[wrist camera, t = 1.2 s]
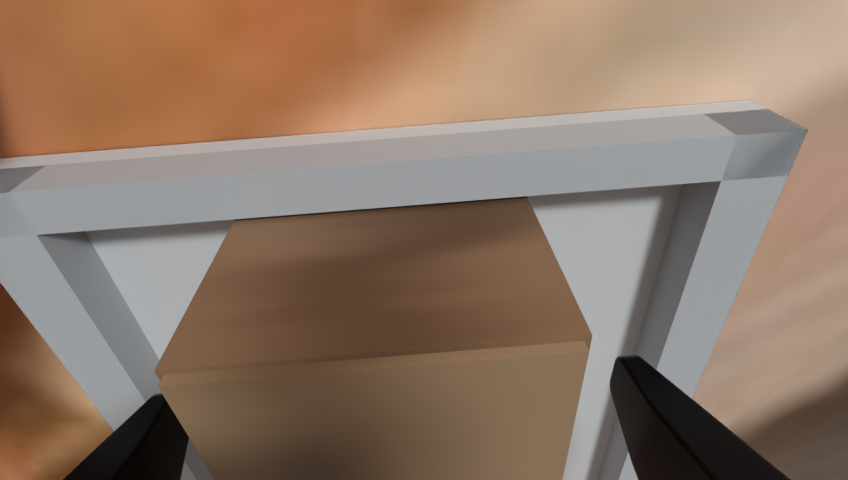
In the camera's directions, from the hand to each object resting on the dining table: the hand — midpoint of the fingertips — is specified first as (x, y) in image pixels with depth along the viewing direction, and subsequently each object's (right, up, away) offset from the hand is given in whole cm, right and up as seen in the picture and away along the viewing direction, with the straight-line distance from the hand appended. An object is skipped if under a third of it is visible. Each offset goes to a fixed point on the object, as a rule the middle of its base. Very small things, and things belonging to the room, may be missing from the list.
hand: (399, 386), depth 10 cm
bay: (0, -2, +6) cm, 6 cm away
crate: (0, +2, +3) cm, 4 cm away
